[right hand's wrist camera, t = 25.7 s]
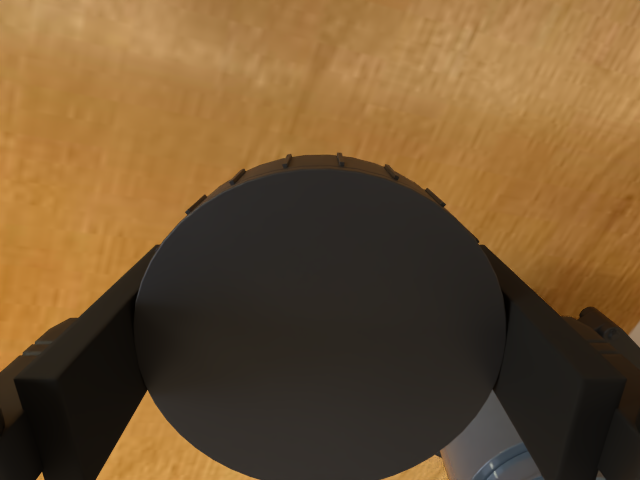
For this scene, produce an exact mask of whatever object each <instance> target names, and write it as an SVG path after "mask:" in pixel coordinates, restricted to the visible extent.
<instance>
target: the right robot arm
mask: <svg viewBox="0 0 640 480" xmlns="http://www.w3.org/2000/svg"><path fill="white" fill-rule="evenodd" d="M158 246H159V245H155V246H154V247H153V248H152V249H151V250H150V251H149V252H148V253H147V254H146V255H145V256H144V257H143V258H142V259H140V260H139V261H138V262H137V263H136V264H135V265H134V266H133V267H132V268H131V269H130V270H129V271H128V272H127V273H126V274H124V275H123V276H122V277H121V278H120V279H119V280H118V281H117V282H116V283H115V284H114V285H113V286H112V287H111V288H110V289H108V290H107V291H106V292H105V293H104V294H103V295H102V296H101V297H100V298H99V299H98V300H97V301H96V302H95V303H94V304H92V305H91V306H90V307H89V308H88V309H87V310H86V311H85V312H84V313H83V314H82V315H81V316H80V317H79V318H69V319H67V320H65V321H64V322H62V323H60V324H58V325H56V326H54V327H52V328H51V329H49V330H48V331H47V332H46V333H45V334H43V335H42V336H41V337H40V338H39V339H38V340H37V341H35V344H32V345H31V346H30V347H29V348H27V349H26V350H25V351H24V352H23V355H22V356H18V357H17V358H16V359H15V360H14V361H13V362H12V363H10V364H9V365H8V366H7V367H6V368H5V369H4V370H2V371H1V372H0V480H36V479H37V478H38V476H39V475H40V474H41V472H42V473H43V476H44V479H45V480H96V478H97V476H98V475H99V473H100V471H101V469H102V468H103V466H104V464H105V463H106V461H107V459H108V457H109V456H110V454H111V452H112V450H113V449H114V447H115V445H116V443H117V442H118V440H119V438H120V437H121V435H122V433H123V431H124V430H125V428H126V426H127V424H128V423H129V421H130V419H131V418H132V416H133V414H134V412H135V411H136V409H137V407H138V405H139V404H140V402H141V400H142V398H143V397H144V395H145V393H146V392H147V390H148V389H147V388H146V386H145V383H144V380H143V378H142V375H141V372H140V369H139V365H138V360H137V355H136V349H135V343H134V332H133V321H134V311H135V302H136V299H137V295H138V291H139V288H140V284H141V281H142V278H143V276H144V274H145V272H146V269H147V267H148V265H149V263H150V260H151V259H152V257H153V256H154V254H155V253H156V252H155V250H156V248H157V247H158ZM479 246H480V247H481V248H482V250H483V251H484V253H485V254H486V256H487V258H488V260H489V262H490V264H491V266H492V268H493V270H494V272H495V274H496V276H497V279H498V282H499V285H500V288H501V291H502V295H503V299H504V305H505V312H506V345H505V351H504V356H503V362H502V366H501V369H500V372H499V375H498V378H497V381H496V383H495V385H494V387H493V391H494V393H495V395H496V396H497V398H498V400H499V401H500V403H501V405H502V407H503V408H504V410H505V412H506V414H507V415H508V417H509V419H510V421H511V422H512V424H513V426H514V427H515V429H516V431H517V433H518V434H519V436H520V438H521V440H522V441H523V443H524V445H525V446H526V448H527V450H528V452H529V453H530V455H531V457H532V459H533V460H534V462H535V464H536V466H537V467H538V469H539V471H540V472H541V474H542V476H543V478H544V479H545V480H596V477H597V474H598V471H600V472H601V474H602V475H603V476H604V478H605V479H606V480H640V370H639V369H638V368H637V367H636V366H635V365H633V364H632V363H631V362H630V361H629V360H628V359H626V358H625V357H624V356H623V355H622V354H618V351H617V350H616V349H615V348H614V347H613V346H612V345H610V344H609V343H606V340H605V339H604V338H602V337H601V336H600V335H599V334H598V333H597V332H596V331H594V330H593V329H592V328H591V327H589V326H587V325H585V324H583V323H582V322H580V321H578V320H576V319H574V318H572V317H561V316H560V315H558V314H557V313H556V312H555V311H554V310H553V309H552V308H551V307H550V306H549V305H548V304H547V303H546V302H545V301H544V300H542V299H541V298H540V297H539V296H538V295H537V294H536V293H535V292H534V291H533V290H532V289H531V288H530V287H529V286H528V285H526V284H525V283H524V282H523V281H522V280H521V279H520V278H519V277H518V276H517V275H516V274H515V273H514V272H513V271H512V270H510V269H509V268H508V267H507V266H506V265H505V264H504V263H503V262H502V261H501V260H500V259H499V258H498V257H497V256H496V255H494V254H493V253H492V252H491V251H490V250H489V249H488V248H487V247H486V246H485V245H479Z"/></svg>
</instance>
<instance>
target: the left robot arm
mask: <svg viewBox="0 0 640 480" xmlns="http://www.w3.org/2000/svg"><path fill="white" fill-rule="evenodd" d="M578 321H580V322H582V323H583V324H585V325H587V326H589V327H591V328H592V329H593V330H594V331H596V332H597V333H598V334H599V335H600V336H601V337H602V338H604V339H605V340H606V343H609V344H610V345H612V346H613V347H614V348H615V349H616V350H617V351H618V354H622V355H623V356H624V357H625V358H626V359H628V360H629V361H630V362H631V363H632V364H633V365H635V366H636V367H637V368H638V369H639V370H640V348H639V347H638V345H637V344H636V343H635V342H634V341H633V340H632V339H631V338H630V337H629V336H628V335H627V334H626V333H625V332H624V331H623V330H622V329H621V328H620V327H619V326H617V325H616V324H615V323H614V322H612V321H611V320H610V319H609V318H607V317H606V316H605V315H604V314H602V313H601V312H600V311H598V310H597V309H596V308H594V307H587V308H585V309H583V310H582V311H581V313H580V315H579V319H578ZM435 455H437V456H439V457H441V458H442V456H441V453H440V451H439V452H438V453H436V454H435ZM443 463H444V462H443ZM444 466H445V465H444ZM445 469H446V468H445ZM446 472H447V471H446ZM447 475H448V474H447ZM448 478H449V477H448Z"/></svg>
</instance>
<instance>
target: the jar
mask: <svg viewBox="0 0 640 480" xmlns="http://www.w3.org/2000/svg"><path fill="white" fill-rule="evenodd" d="M440 453H441V456H442V459H443V462H444V465H445V468H446V471H447V474H448V477H449V480H545V479H544V478H543V476H542V474H541V472H540V471H539V469H538V467H537V466H536V464H535V462H534V460H533V459H532V457H531V455H530V453H529V452H528V450H527V448H526V446H525V445H524V443H523V441H522V440H521V438H520V436H519V434H518V433H517V431H516V429H515V427H514V426H513V424H512V422H511V421H510V419H509V417H508V415H507V414H506V412H505V410H504V408H503V407H502V405H501V403H500V401H499V400H498V398H497V396H496V395H495V393H494V391H493V389H492V391H491V393H490V395H489V397H488V399H487V401H486V402H485V404H484V405H483V407H482V408H481V410H480V411H479V413H478V414H477V416H476V417H475V418H474V419H473V421H472V422H471V423H470V424H469V425H468V426H467V427H466V429H465V430H464V431H463V432H462V433H461V434H460V435H459V436H457V437H456V438H455V439H454V440H453V441H452V442H451V443H450V444H449V445H447V446H446V447H445V448H443V449H442V450H440ZM596 480H606V479H605V478H604V476H603V475H602V474H601V472H600V471H598V474H597V477H596Z"/></svg>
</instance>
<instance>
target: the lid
mask: <svg viewBox="0 0 640 480" xmlns="http://www.w3.org/2000/svg"><path fill="white" fill-rule="evenodd" d="M445 205H446V204H445V203H444V202H443V201H442V200H440V199H439V198H438V197H437V196H436V195H435V194H434V193H433V192H432V191H430V190H429V189H428V188H426V190H424V189H422V188H421V187H420V186H419V185H417V184H416V183H414V182H413V181H411V180H409V179H408V178H406V177H404V176H402V175H401V174H399V173H397V172H395V171H394V170H393V169H392V168H391V167H390V166H389V165H387V164H385V167H383V166H380V165H378V164H375V163H372V162H368V161H364V160H360V159H356V158H352V157H343V156H342V153H337V156H335V155H303V156H296V157H292V155H291V154H288V155H287V156H286V158H283V159H279V160H276V161H272V162H269V163H265V164H262V165H259V166H257V167H254V168H252V169H250V170H248V171H245V169H242V170H240V171H239V172H238V173H237V174H236V175H235V176H234V177H233V178H232V179H231V180H229V181H227V182H226V183H224V184H223V185H221V186H220V187H218V188H217V189H216V190H215V191H214V192H212V193H211V194H210V195H209V196H208V197H207V196H206V195H204V196H202V197H201V198H200V199H199V200H198V201H197V202H196V203H195V204H194V205H192V206H191V207H190V208H189V209H188V210H187V211H186V212H185V213H186V214H187V216H186V217H185V218H184V219H183V220H181V221H180V222H179V224H178V225H177V226H176V227H175V228H174V229H173V230H172V231H171V233H170V234H169V235H168V236H167V237H166V238H165V239H164V240H163V242H162V243H161V244H160V245H159V246H158V247H157V248H156V250H155V252H156V253H155V254H154V256H153V257H152V259H151V260H150V263H149V265H148V267H147V269H146V272H145V274H144V276H143V278H142V281H141V284H140V288H139V291H138V295H137V299H136V302H135V311H134V321H133V332H134V343H135V349H136V355H137V360H138V365H139V369H140V372H141V375H142V378H143V380H144V383H145V386H146V388H147V389H148V391H149V393H150V395H151V397H152V399H153V401H154V403H155V404H156V406H157V407H158V408H159V410H160V411H161V413H162V414H163V415H164V417H165V418H166V420H167V421H168V422H169V423H170V424H171V425H172V426H173V427H174V428H175V429H176V431H177V432H178V433H179V434H180V435H181V436H182V437H184V438H185V439H186V440H187V441H188V442H189V443H191V444H192V445H193V446H194V447H195V448H197V449H198V450H200V451H201V452H203V453H204V454H206V455H207V456H208V457H210V458H211V459H213V460H215V461H217V462H219V463H221V464H222V465H224V466H226V467H228V468H230V469H232V470H235V471H237V472H240V473H242V474H245V475H247V476H250V477H253V478H256V479H260V480H381V479H384V478H387V477H390V476H393V475H396V474H398V473H401V472H403V471H405V470H408V469H410V468H412V467H414V466H416V465H418V464H420V463H421V462H423V461H425V460H427V459H429V458H430V457H432V456H433V455H435V454H436V453H438V452H439V451H440V450H442V449H443V448H445V447H446V446H447V445H449V444H450V443H451V442H452V441H453V440H454V439H455V438H456V437H457V436H459V435H460V434H461V433H462V432H463V431H464V430H465V429H466V427H467V426H468V425H469V424H470V423H471V422H472V421H473V419H474V418H475V417H476V416H477V414H478V413H479V411H480V410H481V408H482V407H483V405H484V404H485V402H486V401H487V399H488V397H489V395H490V393H491V391H492V389H493V387H494V385H495V383H496V381H497V378H498V375H499V372H500V369H501V366H502V362H503V356H504V351H505V345H506V312H505V305H504V299H503V295H502V291H501V288H500V285H499V282H498V279H497V276H496V274H495V272H494V270H493V268H492V266H491V264H490V262H489V260H488V258H487V256H486V254H485V253H484V251H483V250H482V248H481V247H480V246H479V244H478V243H479V240H478V239H477V238H476V237H475V236H474V235H473V234H472V233H471V232H470V231H469V230H467V229H466V228H465V227H464V226H463V225H462V224H461V223H460V222H459V221H458V220H457V219H456V218H455V217H454V216H453V215H452V214H451V213H450V212H449V211H448V210H447V209H445V208H444V206H445Z"/></svg>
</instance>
